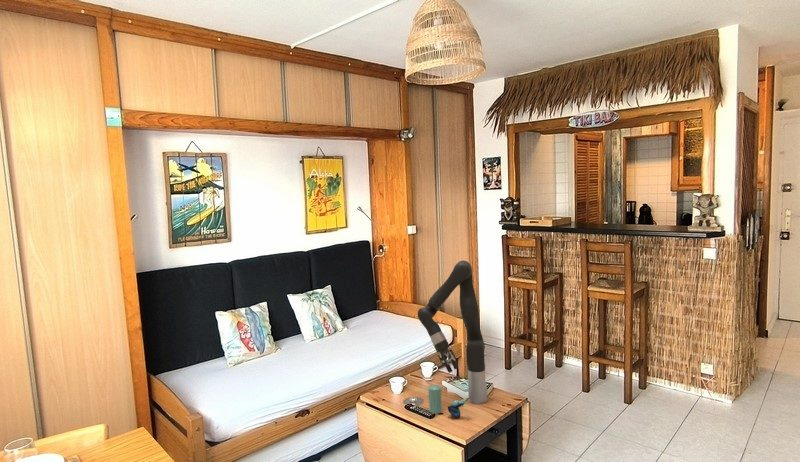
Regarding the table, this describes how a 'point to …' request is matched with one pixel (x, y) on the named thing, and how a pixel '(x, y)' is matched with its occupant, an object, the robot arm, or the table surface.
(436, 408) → the green cylinder
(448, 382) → the table surface
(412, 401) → the tealight
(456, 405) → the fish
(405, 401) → the slate plate
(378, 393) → the table surface
